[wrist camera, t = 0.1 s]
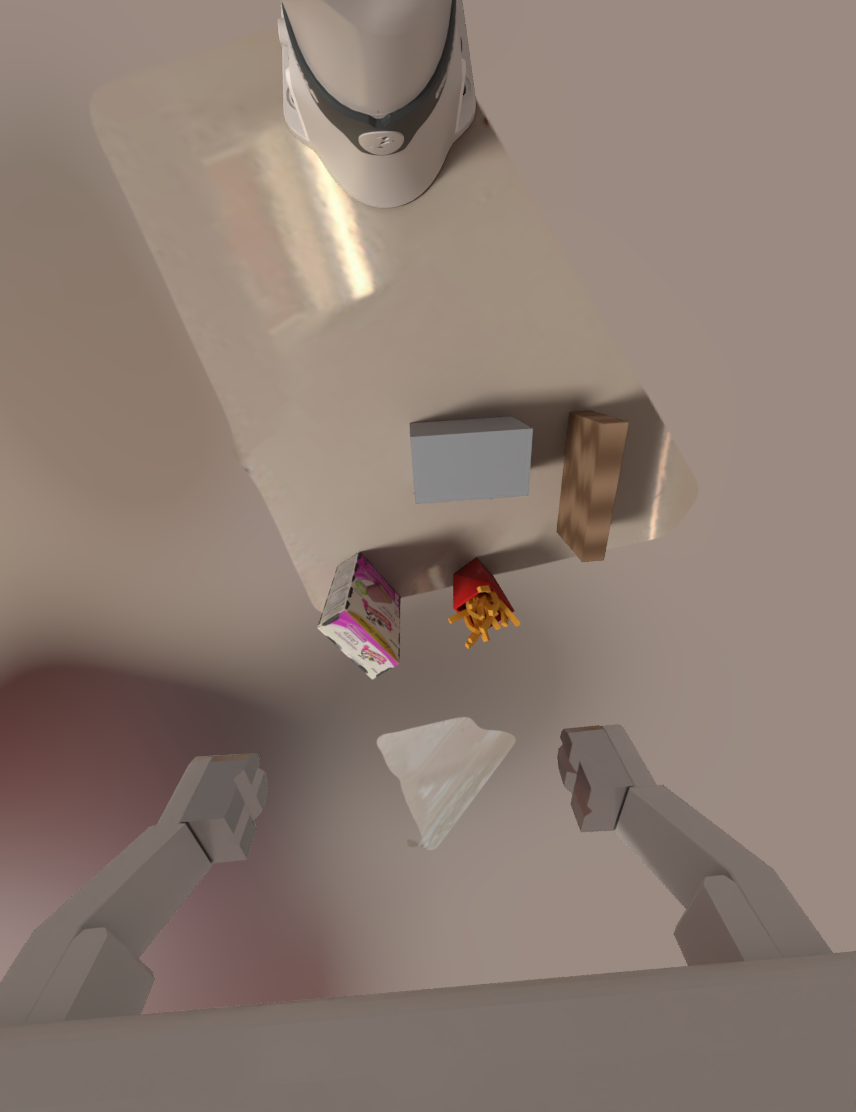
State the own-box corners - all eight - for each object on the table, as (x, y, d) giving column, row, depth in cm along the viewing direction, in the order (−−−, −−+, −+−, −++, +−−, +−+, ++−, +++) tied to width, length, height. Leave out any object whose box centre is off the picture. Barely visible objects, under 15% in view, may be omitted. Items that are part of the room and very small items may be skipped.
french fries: (501, 576, 64) (526, 634, 51) (462, 603, 66) (477, 665, 53) (469, 541, 61) (487, 592, 48) (430, 571, 63) (436, 628, 50)
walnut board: (569, 412, 52) (602, 423, 44) (591, 410, 53) (628, 422, 44) (556, 531, 61) (582, 561, 52) (575, 530, 61) (603, 560, 52)
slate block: (409, 423, 52) (410, 437, 43) (511, 416, 52) (532, 428, 44) (413, 480, 56) (415, 503, 47) (509, 473, 56) (528, 495, 47)
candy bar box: (402, 596, 65) (401, 665, 51) (379, 610, 66) (372, 682, 52) (360, 548, 61) (345, 609, 46) (335, 565, 62) (314, 630, 47)
